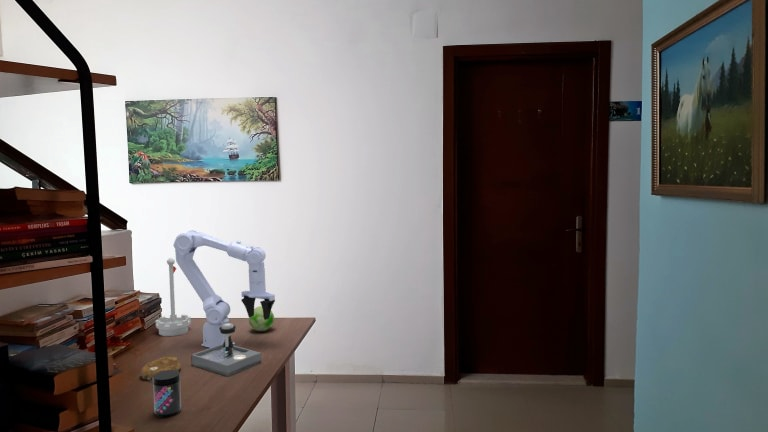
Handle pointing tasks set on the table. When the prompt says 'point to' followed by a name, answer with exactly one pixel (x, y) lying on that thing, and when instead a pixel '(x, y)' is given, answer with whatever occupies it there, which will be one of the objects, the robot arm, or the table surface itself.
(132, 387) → the table surface
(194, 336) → the table surface
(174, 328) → the flag stand
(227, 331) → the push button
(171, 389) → the supplement container
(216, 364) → the scale housing
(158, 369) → the decorative rock
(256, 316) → the decorative ball
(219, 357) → the weighing pan
